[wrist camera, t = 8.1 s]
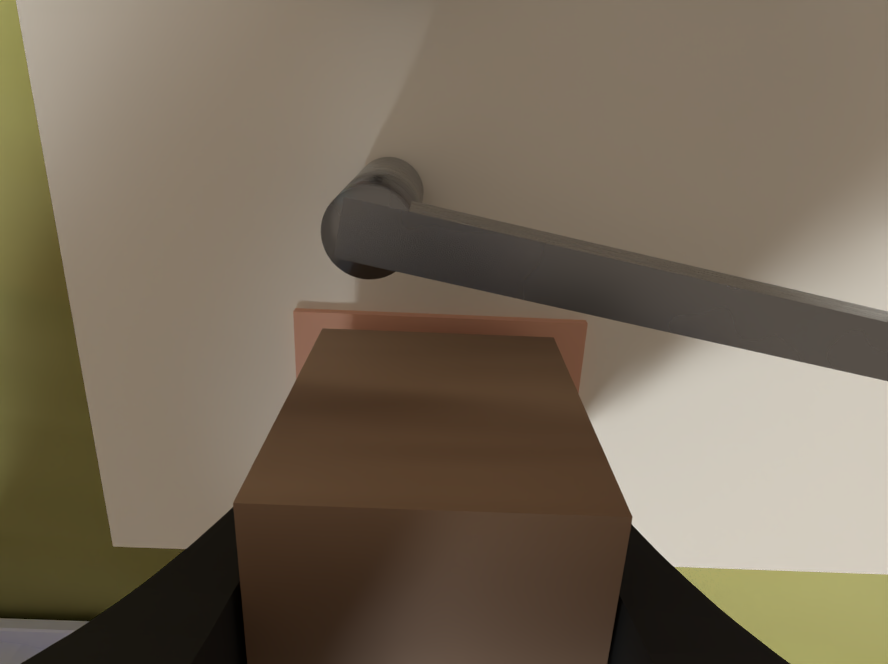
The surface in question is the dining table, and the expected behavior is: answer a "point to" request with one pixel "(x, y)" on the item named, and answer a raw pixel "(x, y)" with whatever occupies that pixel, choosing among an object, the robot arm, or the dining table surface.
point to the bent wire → (589, 276)
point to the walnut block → (431, 509)
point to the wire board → (486, 195)
